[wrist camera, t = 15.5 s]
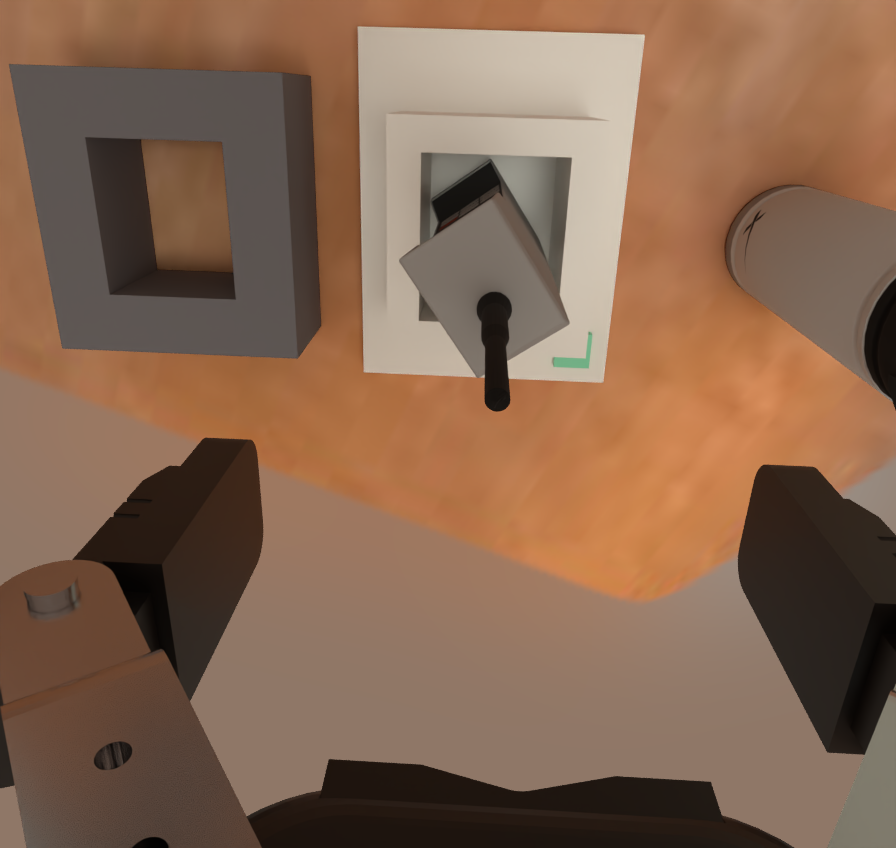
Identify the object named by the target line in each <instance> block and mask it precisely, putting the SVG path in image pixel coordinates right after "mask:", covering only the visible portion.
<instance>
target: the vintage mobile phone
mask: <svg viewBox="0 0 896 848" xmlns="http://www.w3.org/2000/svg"><path fill="white" fill-rule="evenodd" d="M430 202H431V205H432V208H433V211H434V213H435V216H436V219H437V222H438V224H437V227H436V230H435V232H434V235H433V237H432V238H430V239H429V240H427V241H426V242H424V243H423V244H421V245H420V246H419V245H417V246H415V247H414V248H413V249H412V250H410V251H409V252H408V253H406V254H405V255H404V256H403V257H401V258H400V259H399V262H400V264H401V265H402V267H403V268H404V270H405V271H406V273H407V274H408V276H409V277H410V279H411V280H412V282H413V283H414V285H415V286H416V288H417V289H418V291H419V292H420V294H421V295H422V297H423V298H424V300H425V301H426V303H427V304H428V306H429V307H430V309H431V310H432V312H433V313H434V315H435V316H436V317H437V319H438V320H439V322H440V323H441V325H442V326H443V328H444V329H445V331H446V332H447V334H448V335H449V337H450V338H451V340H452V341H453V343H454V344H455V346H456V347H457V349H458V350H459V352H460V353H461V355H462V356H463V358H464V359H465V361H466V362H467V364H468V365H469V367H470V368H471V370H472V371H473V373H474V374H475V376H476V377H477V378H480V377H481V376H483V375H485V404H486V406H487V407H488V408H489V409H490V410H492V411H496V412H497V411H502V410H504V409H506V408H507V407H508V405H509V404H510V390H509V377H508V365H507V361H508V360H510V359H512V358H513V357H515V356H517V355H519V354H520V353H522V352H524V351H525V350H527V349H529V348H530V347H532V346H534V345H536V344H537V343H539V342H541V341H542V340H544V339H546V338H547V337H549V336H551V335H552V334H554V333H556V332H558V331H559V330H561V329H563V328H564V327H566V326H568V325H569V324H570V322H569V319H568V316H567V314H566V311H565V308H564V305H563V303H562V300H561V297H560V295H559V292H558V289H557V286H556V284H555V281H554V278H553V276H552V273H551V270H550V267H549V265H548V262H547V259H546V256H545V254H544V251H543V248H542V246H541V243H540V240H539V238H538V236H537V235H536V233H535V231H534V230H533V228H532V226H531V225H530V223H529V221H528V220H527V218H526V216H525V215H524V213H523V211H522V210H521V208H520V206H519V204H518V203H517V201H516V199H515V198H514V196H513V194H512V193H511V191H510V189H509V188H508V186H507V184H506V183H505V181H504V179H503V178H502V176H501V174H500V172H499V171H498V169H497V167H496V166H495V164H494V162H493V161H492V159H489V160H488V161H486V162H485V163H483V164H482V165H480V166H479V167H477V168H476V169H474V170H473V171H471V172H470V173H469V174H467V175H466V176H464V177H463V178H461V179H460V180H458V181H457V182H455V183H454V184H452V185H451V186H449V187H448V188H446V189H445V190H443V191H442V192H440V193H439V194H437V195H436V196H434V197H433V198H432V199H431V201H430Z"/></svg>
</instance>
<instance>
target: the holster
mask: <svg viewBox="0 0 896 848" xmlns="http://www.w3.org/2000/svg"><path fill="white" fill-rule="evenodd" d="M9 67H10V73H11V78H12V83H13V89H14V94H15V99H16V105H17V110H18V115H19V121H20V126H21V131H22V137H23V142H24V147H25V152H26V158H27V163H28V168H29V174H30V179H31V184H32V190H33V195H34V200H35V206H36V211H37V216H38V222H39V227H40V232H41V238H42V243H43V248H44V254H45V259H46V264H47V270H48V275H49V280H50V286H51V291H52V296H53V302H54V307H55V312H56V317H57V323H58V328H59V333H60V339H61V344H62V348H64V349H88V350H111V351H134V352H158V353H181V354H204V355H227V356H251V357H274V358H297V359H298V357H299V356H300V355H301V353H302V352H303V350H304V349H305V348H306V346H307V345H308V343H309V342H310V341H311V339H312V338H313V337H314V335H315V334H316V332H317V331H318V330H319V328H320V327H321V314H320V290H319V266H318V241H317V217H316V193H315V168H314V144H313V120H312V95H311V76H306V75H298V74H289V73H276V72H243V71H211V70H178V69H146V68H114V67H81V66H49V65H16V64H9ZM140 139H154V140H184V141H213V142H222V147H223V158H224V170H225V181H226V193H227V204H228V216H229V227H230V239H231V250H232V261H233V273H231V272H205V271H180V270H157V265H156V257H155V249H154V242H153V234H152V226H151V218H150V210H149V203H148V195H147V187H146V179H145V172H144V164H143V156H142V148H141V140H140Z"/></svg>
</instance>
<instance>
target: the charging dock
mask: <svg viewBox="0 0 896 848" xmlns="http://www.w3.org/2000/svg"><path fill="white" fill-rule="evenodd" d="M644 39H645V35H639V34H604V33H569V32H535V31H500V30H465V29H430V28H396V27H361V26H358V72H359V128H360V185H361V242H362V299H363V355H364V372H369V373H392V374H415V375H438V376H461V377H476V376H475V374H474V373H473V371H472V370H471V368H470V367H469V365H468V364H467V362H466V361H465V359H464V358H463V356H462V355H461V353H460V352H459V350H458V349H457V347H456V346H455V344H454V343H453V341H452V340H451V338H450V337H449V335H448V334H447V332H446V331H445V329H444V328H443V326H442V325H441V323H440V322H439V320H438V319H437V317H436V316H435V315H434V313H433V312H432V310H431V309H430V307H429V306H428V304H427V303H426V301H425V300H424V298H423V297H422V295H421V294H420V292H419V291H418V289H417V288H416V286H415V285H414V283H413V282H412V280H411V279H410V277H409V276H408V274H407V273H406V271H405V270H404V268H403V267H402V265H401V264H400V262H399V259H400V258H401V257H403V256H404V255H405V254H406V253H408V252H409V251H410V250H412V249H413V248H414V247H415V246H417V245H419V246H420V245H421V244H423V243H424V242H426V241H427V240H429V239H430V238H432V237H433V235H434V232H435V230H436V227H437V224H438V222H437V219H436V216H435V213H434V211H433V208H432V205H431V202H430V201H431V199H432V198H433V197H434V196H436V195H437V194H439V193H440V192H442V191H443V190H445V189H446V188H448V187H449V186H451V185H452V184H454V183H455V182H457V181H458V180H460V179H461V178H463V177H464V176H466V175H467V174H469V173H470V172H471V171H473V170H474V169H476V168H477V167H479V166H480V165H482V164H483V163H485V162H486V161H488V160H489V159H492V161H493V162H494V164H495V166H496V167H497V169H498V171H499V172H500V174H501V176H502V178H503V179H504V181H505V183H506V184H507V186H508V188H509V189H510V191H511V193H512V194H513V196H514V198H515V199H516V201H517V203H518V204H519V206H520V208H521V210H522V211H523V213H524V215H525V216H526V218H527V220H528V221H529V223H530V225H531V226H532V228H533V230H534V231H535V233H536V235H537V236H538V238H539V240H540V243H541V246H542V248H543V251H544V254H545V256H546V259H547V262H548V265H549V267H550V270H551V273H552V276H553V278H554V281H555V284H556V286H557V289H558V292H559V295H560V297H561V300H562V303H563V305H564V308H565V311H566V314H567V316H568V319H569V322H570V324H569V325H568V326H566V327H564V328H563V329H561V330H559V331H558V332H556V333H554V334H552V335H551V336H549V337H547V338H546V339H544V340H542V341H541V342H539V343H537V344H536V345H534V346H532V347H530V348H529V349H527V350H525V351H524V352H522V353H520V354H519V355H517V356H515V357H513V358H512V359H510V360H508V361H507V365H508V377H509V379H530V380H553V381H577V382H600V383H603V380H604V371H605V363H606V355H607V346H608V338H609V330H610V322H611V313H612V305H613V297H614V288H615V280H616V272H617V263H618V255H619V247H620V238H621V230H622V222H623V213H624V205H625V197H626V189H627V180H628V172H629V164H630V155H631V147H632V139H633V130H634V122H635V114H636V105H637V97H638V89H639V81H640V72H641V64H642V56H643V47H644ZM481 377H484V378H485V375H483V376H481Z"/></svg>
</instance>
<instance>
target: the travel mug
mask: <svg viewBox="0 0 896 848" xmlns="http://www.w3.org/2000/svg"><path fill="white" fill-rule="evenodd" d="M726 262H727V266H728V270H729V272H730V274H731V276H732V278H733V279H734V281H735V282H736V283H737V284H738V286H739V287H741V288H742V289H743V290H744V291H746V292H747V293H748V294H750V295H751V296H752V297H754V298H755V299H756V300H758V301H759V302H760V303H762V304H763V305H764V306H766V307H767V308H768V309H770V310H771V311H772V312H774V313H775V314H776V315H778V316H779V317H780V318H782V319H783V320H784V321H786V322H787V323H788V324H790V325H791V326H792V327H794V328H795V329H796V330H798V331H799V332H800V333H802V334H803V335H804V336H805V337H807V338H808V339H809V340H811V341H812V342H813V343H815V344H816V345H817V346H819V347H820V348H821V349H823V350H824V351H825V352H827V353H828V354H829V355H831V356H832V357H833V358H835V359H836V360H837V361H839V362H840V363H841V364H843V365H844V366H845V367H847V368H848V369H849V370H851V371H852V372H853V373H855V374H856V375H857V376H859V377H860V378H861V379H863V380H864V381H865V382H867V383H868V384H869V385H871V386H872V387H873V388H875V389H876V390H877V391H879V392H880V393H881V394H883V395H884V396H885V397H887V398H888V399H889V400H891V401H892V402H893V404H894V407H895V410H896V211H893V210H889V209H886V208H882V207H879V206H875V205H871V204H868V203H864V202H861V201H857V200H854V199H850V198H847V197H843V196H839V195H836V194H832V193H829V192H825V191H822V190H818V189H815V188H811V187H807V186H803V185H786V186H780V187H776V188H774V189H771V190H768V191H766V192H764V193H762V194H761V195H759V196H757V197H756V198H754V199H753V200H752V201H751V202H750V203H748V204H747V205H746V206H745V207H744V208H743V210H742V211H741V212H740V213H739V214H738V216H737V217H736V219H735V221H734V222H733V224H732V226H731V229H730V231H729V234H728V237H727V242H726Z"/></svg>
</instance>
